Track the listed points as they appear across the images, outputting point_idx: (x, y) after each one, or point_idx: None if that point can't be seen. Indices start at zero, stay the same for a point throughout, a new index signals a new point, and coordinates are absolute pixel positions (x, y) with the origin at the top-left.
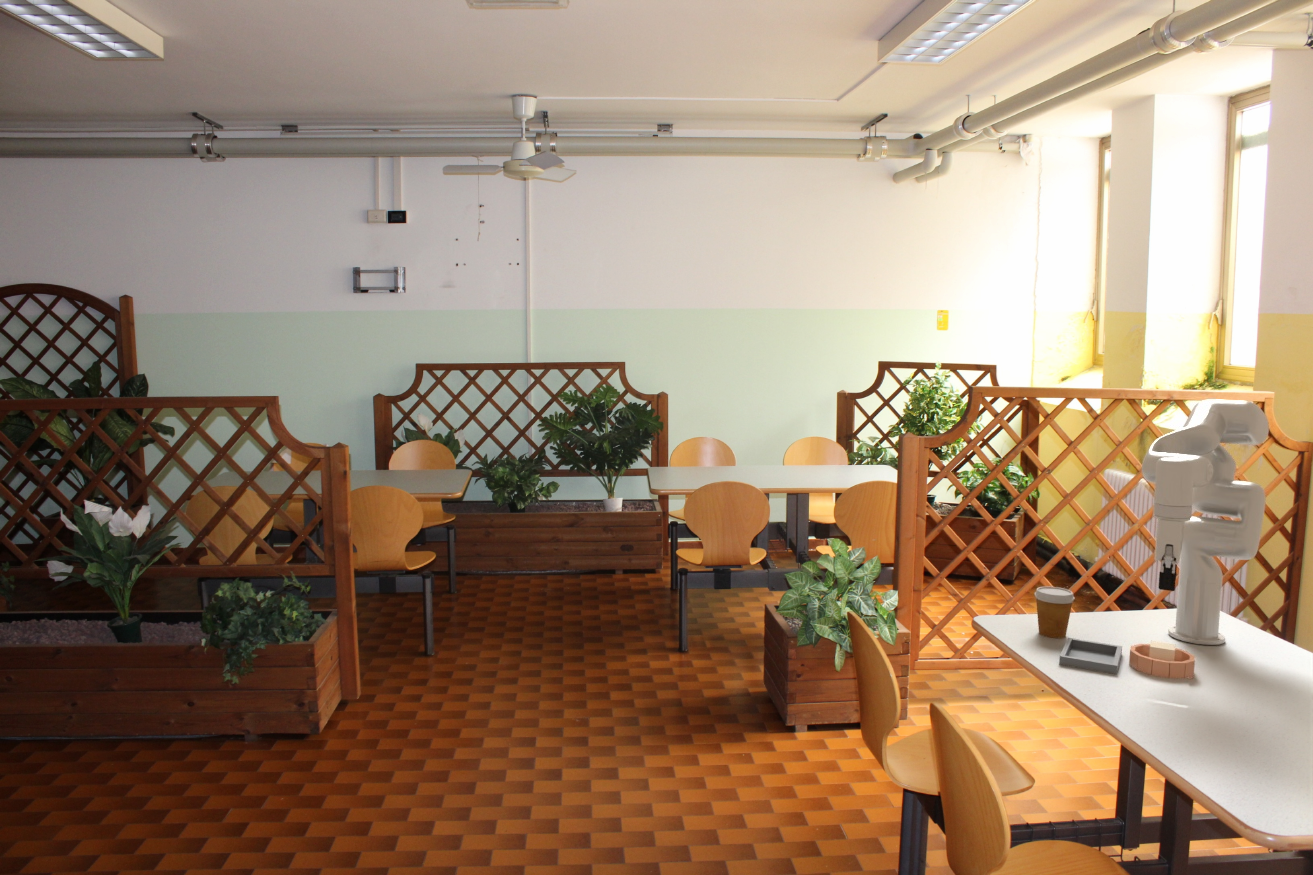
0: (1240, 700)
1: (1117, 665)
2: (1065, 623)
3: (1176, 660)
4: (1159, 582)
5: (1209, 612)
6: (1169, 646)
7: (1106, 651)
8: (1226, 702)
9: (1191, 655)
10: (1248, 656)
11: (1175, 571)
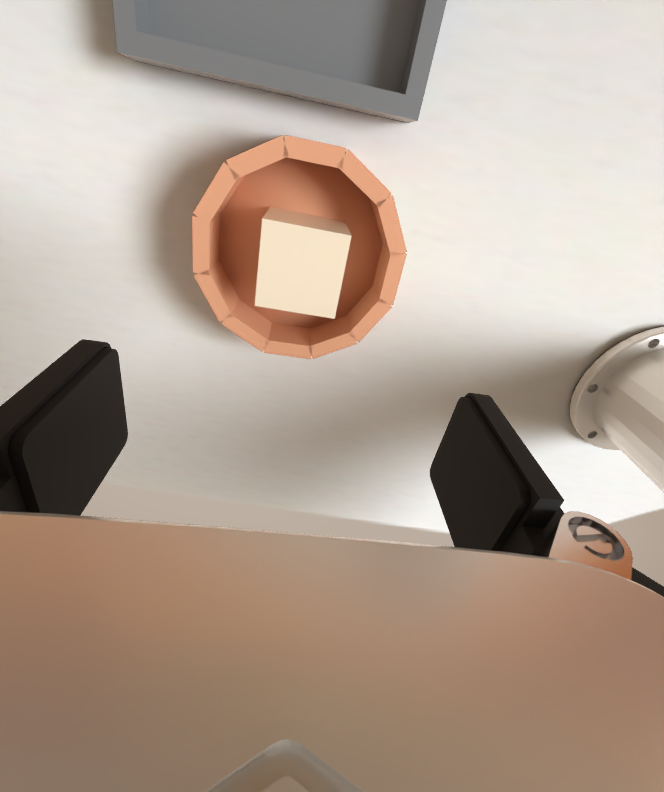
0: (142, 403)
1: (137, 57)
2: None
3: (357, 305)
4: (53, 369)
5: (648, 465)
6: (298, 294)
7: (410, 47)
8: None
9: (314, 351)
10: None
11: (451, 531)
